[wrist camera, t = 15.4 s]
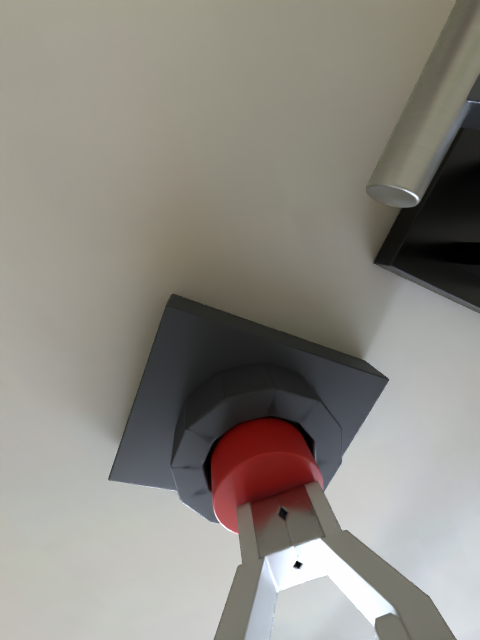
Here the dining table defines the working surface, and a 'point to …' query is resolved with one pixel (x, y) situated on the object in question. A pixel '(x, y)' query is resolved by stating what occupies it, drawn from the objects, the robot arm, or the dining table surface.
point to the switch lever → (433, 112)
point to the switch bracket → (443, 228)
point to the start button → (258, 465)
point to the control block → (235, 398)
